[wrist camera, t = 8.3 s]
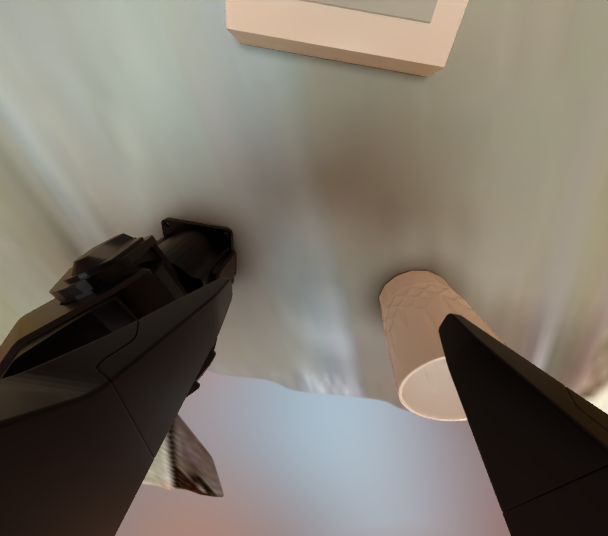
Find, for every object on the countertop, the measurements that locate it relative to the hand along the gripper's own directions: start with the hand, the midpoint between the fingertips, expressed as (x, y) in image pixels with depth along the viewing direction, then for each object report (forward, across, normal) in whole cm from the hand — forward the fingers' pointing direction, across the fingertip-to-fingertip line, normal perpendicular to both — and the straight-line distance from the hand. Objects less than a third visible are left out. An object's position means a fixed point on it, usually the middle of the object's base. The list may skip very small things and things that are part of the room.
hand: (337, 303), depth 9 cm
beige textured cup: (+12, -10, +7) cm, 17 cm away
